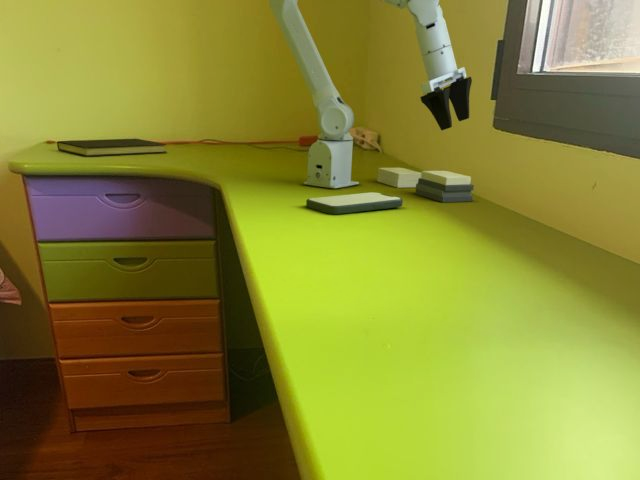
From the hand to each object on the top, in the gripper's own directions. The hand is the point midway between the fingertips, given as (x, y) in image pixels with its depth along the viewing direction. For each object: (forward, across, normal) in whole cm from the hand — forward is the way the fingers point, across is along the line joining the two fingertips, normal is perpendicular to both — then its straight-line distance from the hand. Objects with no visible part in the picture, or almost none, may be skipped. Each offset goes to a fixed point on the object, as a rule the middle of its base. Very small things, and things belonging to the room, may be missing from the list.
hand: (455, 124), depth 136 cm
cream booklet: (+9, -9, 0) cm, 13 cm away
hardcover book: (-21, -12, +92) cm, 96 cm away
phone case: (+6, -33, +5) cm, 34 cm away
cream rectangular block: (+8, -1, +16) cm, 18 cm away
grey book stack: (+11, -10, +1) cm, 15 cm away
